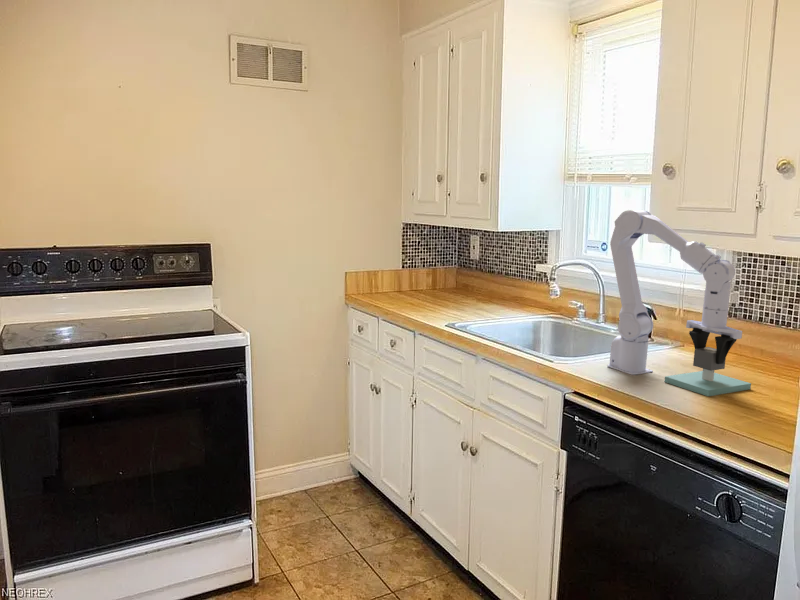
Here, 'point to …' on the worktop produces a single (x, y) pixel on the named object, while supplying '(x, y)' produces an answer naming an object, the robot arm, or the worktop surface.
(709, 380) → the base
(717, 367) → the grey drawer cube
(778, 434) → the worktop surface
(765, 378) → the worktop surface
